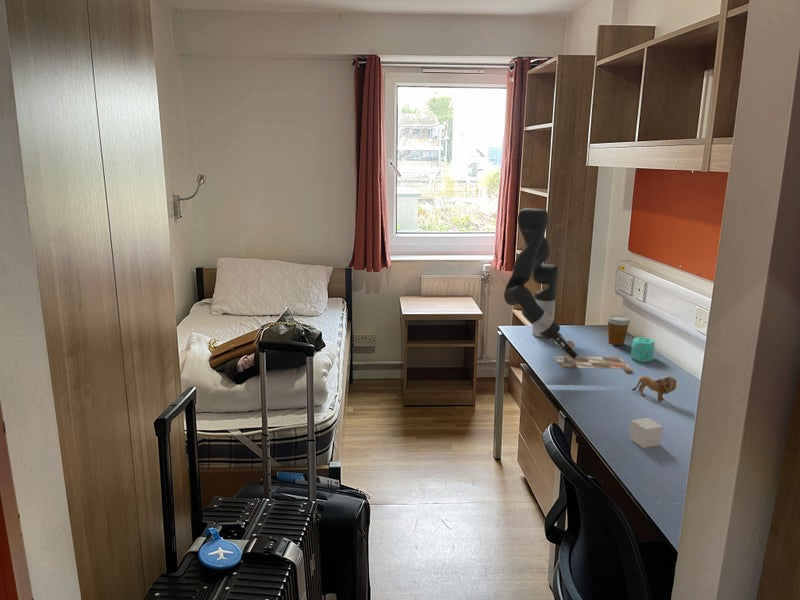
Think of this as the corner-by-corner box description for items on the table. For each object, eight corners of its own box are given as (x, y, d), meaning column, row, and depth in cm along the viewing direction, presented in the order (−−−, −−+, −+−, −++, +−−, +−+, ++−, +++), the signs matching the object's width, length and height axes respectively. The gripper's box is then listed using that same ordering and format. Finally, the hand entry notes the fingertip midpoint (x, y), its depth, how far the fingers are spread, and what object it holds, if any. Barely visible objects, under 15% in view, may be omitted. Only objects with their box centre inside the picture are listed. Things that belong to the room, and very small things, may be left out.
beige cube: (645, 436, 176) (648, 417, 175) (660, 445, 171) (662, 426, 169) (629, 438, 174) (631, 420, 173) (643, 448, 169) (645, 429, 167)
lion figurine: (676, 401, 201) (680, 376, 199) (670, 405, 197) (674, 380, 195) (634, 389, 211) (637, 365, 209) (628, 393, 207) (630, 369, 205)
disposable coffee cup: (618, 339, 266) (621, 314, 263) (632, 346, 257) (635, 320, 255) (600, 341, 264) (602, 315, 261) (613, 348, 255) (616, 321, 252)
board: (550, 358, 241) (550, 355, 241) (618, 359, 241) (619, 356, 240) (559, 372, 226) (559, 368, 226) (632, 373, 226) (632, 369, 226)
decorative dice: (630, 360, 241) (632, 341, 239) (632, 354, 247) (634, 336, 245) (651, 363, 237) (653, 344, 235) (652, 357, 244) (655, 339, 242)
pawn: (560, 362, 233) (562, 338, 230) (572, 362, 233) (574, 338, 230) (563, 367, 228) (565, 342, 225) (575, 367, 228) (577, 342, 225)
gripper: (556, 323, 219) (586, 355, 222) (548, 313, 232) (576, 343, 235) (541, 337, 220) (571, 368, 223) (533, 326, 234) (562, 355, 237)
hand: (573, 355), depth 229 cm, fingers closed on pawn, 3 cm apart
